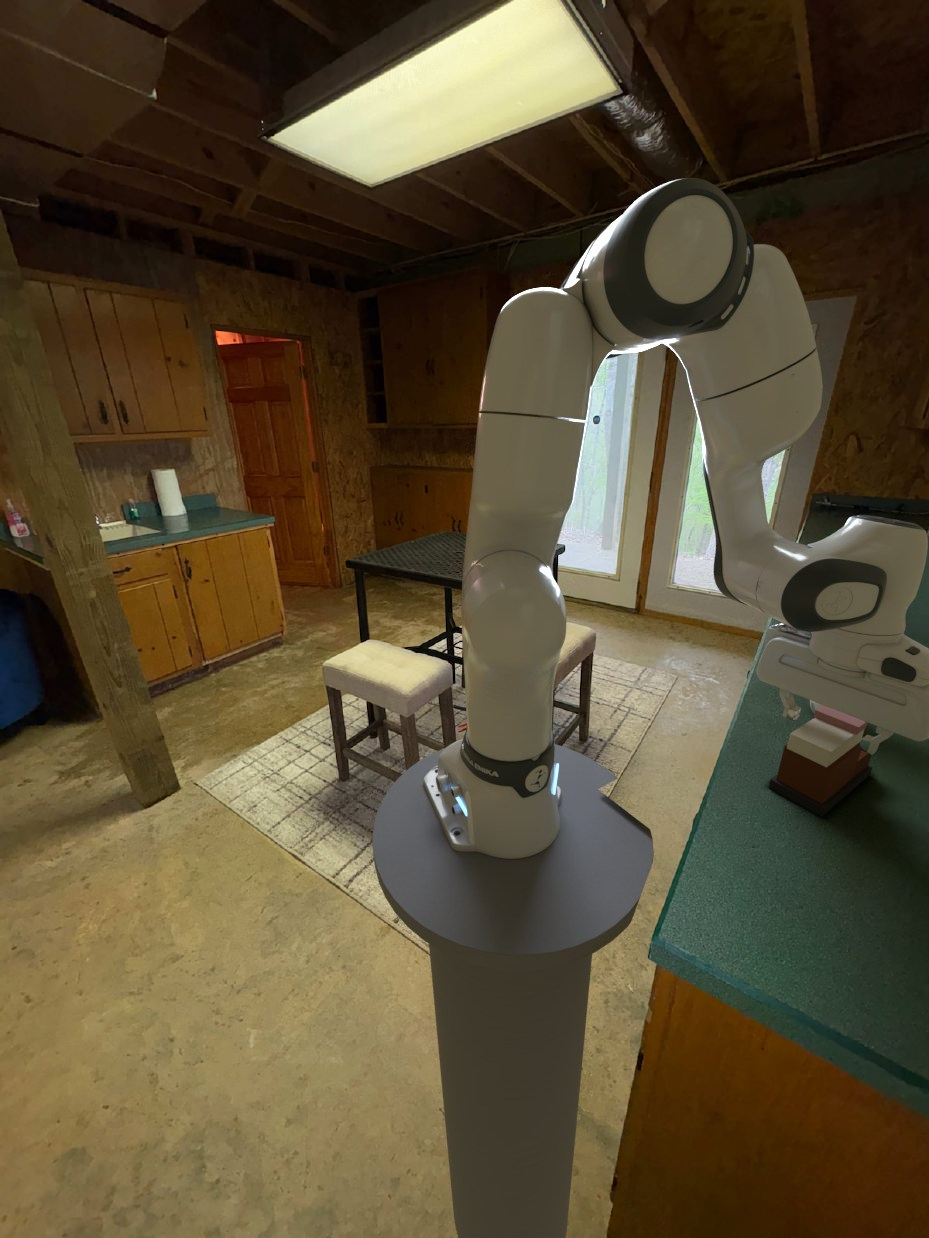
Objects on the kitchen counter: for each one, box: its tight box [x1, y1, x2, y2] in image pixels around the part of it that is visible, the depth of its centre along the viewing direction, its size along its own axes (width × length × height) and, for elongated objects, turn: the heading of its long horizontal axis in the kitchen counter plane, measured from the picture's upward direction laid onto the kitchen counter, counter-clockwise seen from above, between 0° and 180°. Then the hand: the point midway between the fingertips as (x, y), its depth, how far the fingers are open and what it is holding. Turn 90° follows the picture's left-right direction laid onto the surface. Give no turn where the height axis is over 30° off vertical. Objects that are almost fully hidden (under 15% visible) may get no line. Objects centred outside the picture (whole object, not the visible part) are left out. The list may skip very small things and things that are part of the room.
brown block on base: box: [768, 742, 873, 817], centre depth 70 cm, size 15×7×8 cm, turn 122°
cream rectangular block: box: [786, 705, 869, 767], centre depth 67 cm, size 10×5×4 cm, turn 122°
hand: (826, 733), depth 67 cm, fingers open, 8 cm apart
